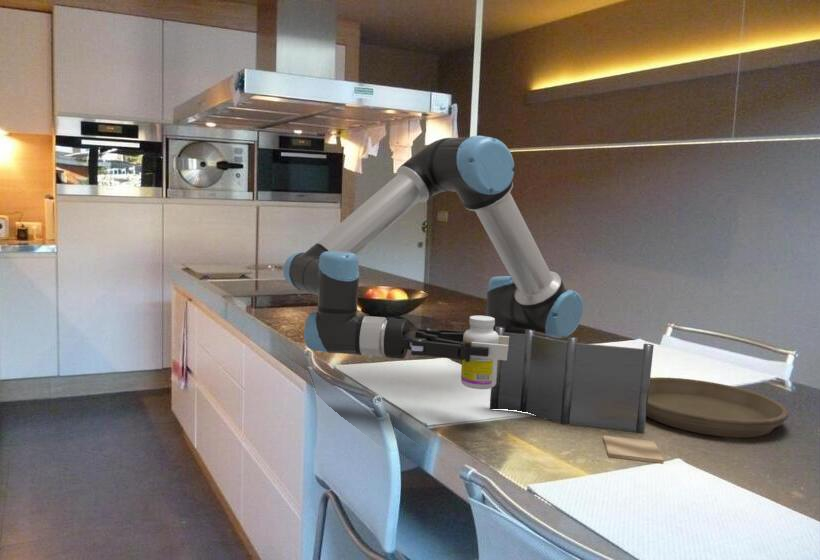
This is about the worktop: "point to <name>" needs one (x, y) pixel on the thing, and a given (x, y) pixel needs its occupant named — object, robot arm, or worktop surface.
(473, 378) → the supplement bottle
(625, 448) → the coaster
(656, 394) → the plant saucer
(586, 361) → the grey ribbed panel
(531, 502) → the worktop surface
